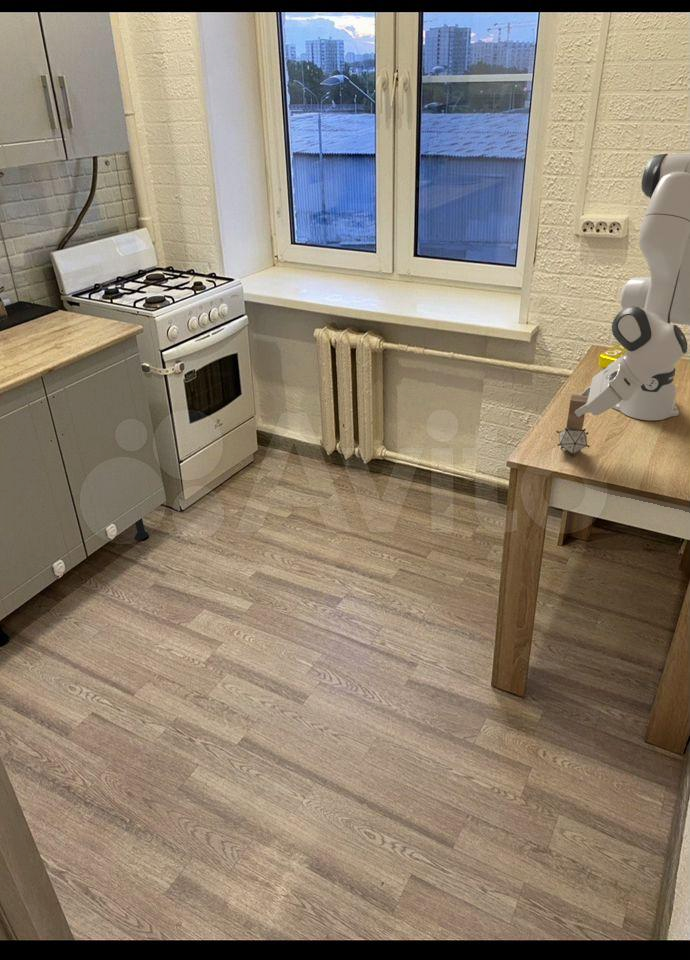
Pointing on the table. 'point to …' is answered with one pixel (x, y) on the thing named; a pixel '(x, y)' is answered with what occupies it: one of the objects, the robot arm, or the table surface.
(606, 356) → the element tile
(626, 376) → the robot arm
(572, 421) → the walnut block
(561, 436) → the game die
